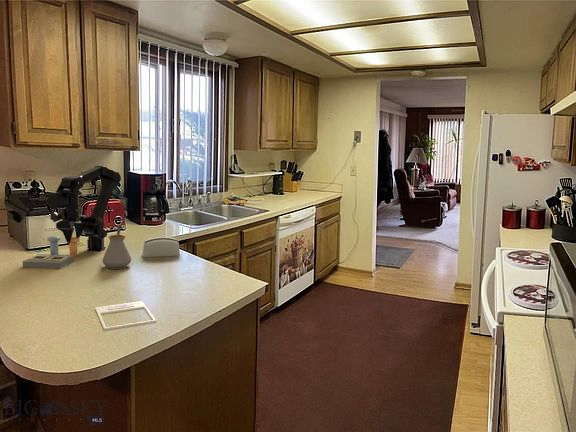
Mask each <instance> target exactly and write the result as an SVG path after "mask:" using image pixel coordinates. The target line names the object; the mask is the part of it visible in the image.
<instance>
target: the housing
mask: <svg viewBox="0 0 576 432" xmlns="http://www.w3.org/2000/svg"><path fill="white" fill-rule="evenodd" d="M74 261H75V260H74V257H73V255H70V254H58V255H51V254H48V253H46V254H45V253H43V254H42V253H37V254H35V255H32V256H31V257H29V258H26V259H25V260H22V268H31V269H33V268H34V269H56V270H57V269H59V270H60V269H62V268H64V267H66V266H68V265H69V264H71V263H72V262H74Z"/></svg>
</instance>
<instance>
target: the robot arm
mask: <svg viewBox="0 0 576 432" xmlns="http://www.w3.org/2000/svg"><path fill="white" fill-rule="evenodd" d="M96 178H99V179H100V185H101V189H100V191H99V194H98V197H97V200H96V202H95V206H94V208H93V210H92V213H91V214H90V215H89V216H88V215H86V214H80V211H81V210H82V208H81V207H80V201H79V200H80V199H79V196H82V195H83V192H81V191H80V189H83V187H84V186H85V184H86V183H88V182H90V181H92V180H94V179H96ZM121 180H122V177H121V174H120V172H118V171H114V170H113V169H110V168H108V167H106V166H105V165H94V166H93V167H92V168H90V169H87V170H86V171H83V172H81V173H79V174H75V175H68V176H64V177H63V178H61V181H60V183H59V184H58V187H57V189H56V191H55V192H51V193H50V195H49V197H48V198H47V200H46V201H47V205H48V207H49V208H51V209H52V210H54V209H61V212H59V213H58V212H57V211H55V212H52V213H50V216H49V217H50V219H49V220H51V221H52V222H53V223H55V228H56V229H57V230H58V231H61V232H62V234H63V236H64V239H65V241H66V243H67V244H69V243H70V241H71V238H72V237H73V234H74V232H75V237H78V238H79V239H80V237H81V235H82V233H84V236H85V237H88V238H87V240H86V241H87V242H86V243H87V244H86V245H87V246H86V247H87V249H86V251H89V252H90V251H91V252H102V251H103V250H105V249H106V246H105V238H108V237H107V236H108V231H107V230H106V229H105V227H104V225H105V224H104V215H105V212H106V210H107V207H108V205H109V201H110V198H111V196H112V193H113V191H114V190H115V189H117V187H118V186H119V184H120V182H121Z"/></svg>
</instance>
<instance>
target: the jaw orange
mask: <svg viewBox="0 0 576 432" xmlns="http://www.w3.org/2000/svg"><path fill="white" fill-rule="evenodd" d="M78 242H80V237H79V238H78V237H76V236H72V238H71V241H70V243H68V248H69V255H73V258H77V257H78Z"/></svg>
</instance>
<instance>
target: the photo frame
mask: <svg viewBox="0 0 576 432" xmlns="http://www.w3.org/2000/svg"><path fill="white" fill-rule="evenodd" d="M94 309H95V311H96V314H97V316H98V319H99V321H100V323H101V326H102V328H103V330H104V331H107V330H113V329H119V328H121V329H122V328H126V327H132V326H138V325H145V324H151V323H156V322H157V319H156V318H155V316H154V315H153V313H151V310H150V309H149V308H148V307H147V306H146V304H145V303H144V301H143V300H140V301H133V302H132V301H131V302H126V303H117V304H112V305H103V306H96V307H95V308H94ZM140 309H141V310H142V309H144V311H146V313H147V315H148V316H149V317H150V319H149V320H144V321H136V322H131V323H125V324H119V325H112V326H106V324H105V321H104V319H103V316H102V315H106V314H112V313H119V312H126V311H133V310H140Z"/></svg>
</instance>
